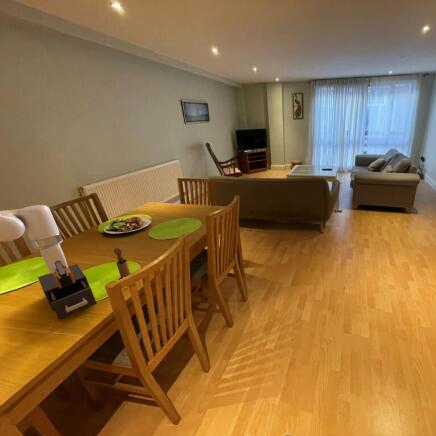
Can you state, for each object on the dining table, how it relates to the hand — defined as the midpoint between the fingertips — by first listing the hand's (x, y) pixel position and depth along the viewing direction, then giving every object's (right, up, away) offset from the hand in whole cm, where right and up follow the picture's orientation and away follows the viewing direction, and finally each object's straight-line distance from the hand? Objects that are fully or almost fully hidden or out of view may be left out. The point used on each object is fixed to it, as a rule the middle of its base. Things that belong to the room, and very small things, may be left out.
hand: (65, 282), depth 91 cm
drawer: (+1, -11, +4) cm, 11 cm away
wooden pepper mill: (+10, -5, +19) cm, 23 cm away
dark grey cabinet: (-9, -9, +11) cm, 16 cm away
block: (0, 0, 0) cm, 0 cm away
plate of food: (-27, +18, +75) cm, 82 cm away
